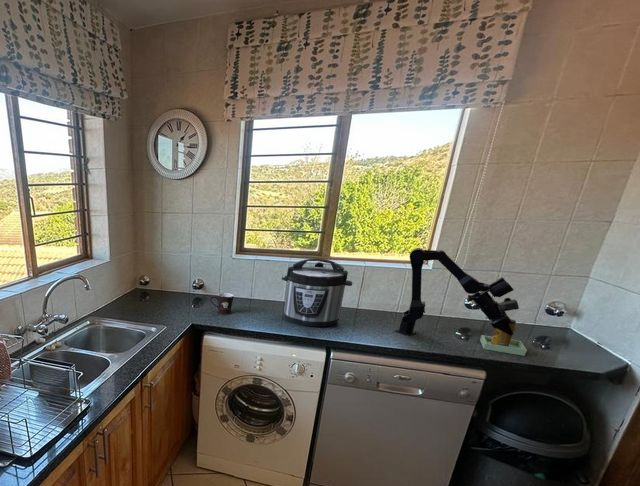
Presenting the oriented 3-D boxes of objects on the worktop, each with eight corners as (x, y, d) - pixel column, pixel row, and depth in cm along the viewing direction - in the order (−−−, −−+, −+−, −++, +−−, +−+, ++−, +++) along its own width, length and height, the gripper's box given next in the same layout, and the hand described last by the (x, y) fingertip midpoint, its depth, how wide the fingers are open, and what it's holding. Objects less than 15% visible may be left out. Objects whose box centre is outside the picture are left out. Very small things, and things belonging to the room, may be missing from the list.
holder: (483, 349, 173) (485, 343, 172) (480, 340, 183) (481, 335, 182) (524, 355, 167) (527, 350, 166) (518, 346, 177) (520, 340, 176)
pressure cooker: (267, 316, 214) (275, 256, 203) (304, 309, 227) (313, 252, 216) (314, 333, 190) (325, 266, 178) (352, 324, 203) (365, 261, 191)
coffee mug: (234, 312, 221) (236, 294, 218) (228, 315, 215) (230, 297, 211) (215, 308, 227) (216, 291, 224) (208, 312, 220) (210, 294, 217)
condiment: (485, 342, 179) (494, 316, 175) (508, 344, 177) (517, 318, 173) (494, 348, 172) (504, 321, 168) (517, 350, 171) (528, 323, 166)
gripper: (512, 297, 161) (538, 328, 159) (504, 288, 175) (528, 316, 174) (481, 313, 167) (506, 343, 166) (476, 303, 182) (499, 330, 181)
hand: (510, 332), depth 172 cm, fingers closed on condiment, 6 cm apart
